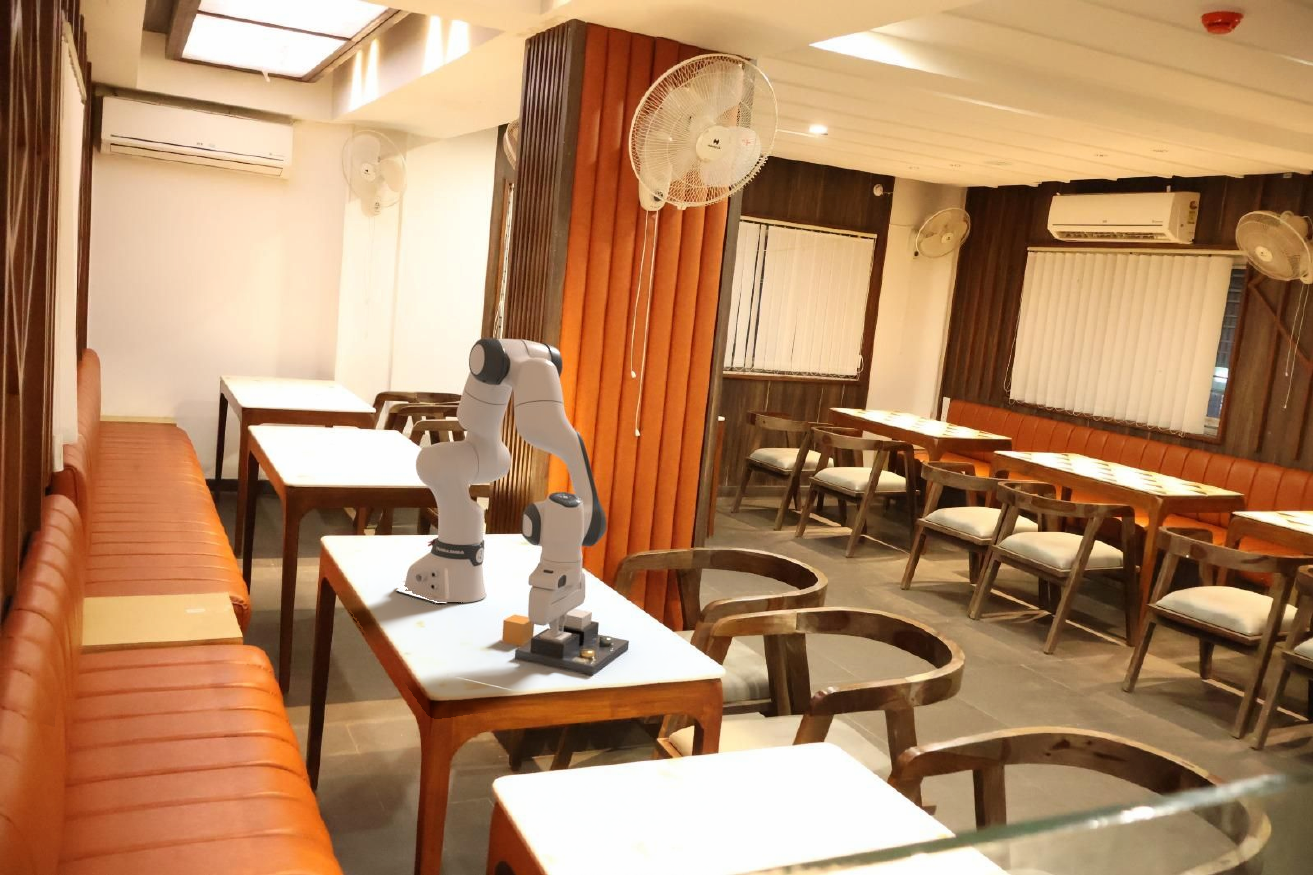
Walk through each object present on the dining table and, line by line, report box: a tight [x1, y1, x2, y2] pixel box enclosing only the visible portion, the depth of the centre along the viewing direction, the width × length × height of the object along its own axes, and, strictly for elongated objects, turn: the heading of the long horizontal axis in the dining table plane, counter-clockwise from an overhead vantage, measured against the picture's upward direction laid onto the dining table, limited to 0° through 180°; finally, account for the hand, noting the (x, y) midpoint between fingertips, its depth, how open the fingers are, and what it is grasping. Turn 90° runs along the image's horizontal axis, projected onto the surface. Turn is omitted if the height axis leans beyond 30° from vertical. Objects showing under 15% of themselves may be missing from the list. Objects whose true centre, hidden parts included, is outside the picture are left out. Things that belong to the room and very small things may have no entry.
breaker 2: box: [564, 608, 593, 630], centre depth 234 cm, size 5×5×3 cm
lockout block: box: [501, 614, 535, 647], centre depth 235 cm, size 5×5×5 cm
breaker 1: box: [540, 630, 572, 642], centre depth 225 cm, size 5×5×3 cm
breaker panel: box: [514, 620, 630, 676], centre depth 229 cm, size 18×19×5 cm
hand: (556, 634), depth 225 cm, fingers closed, pressing on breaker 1
